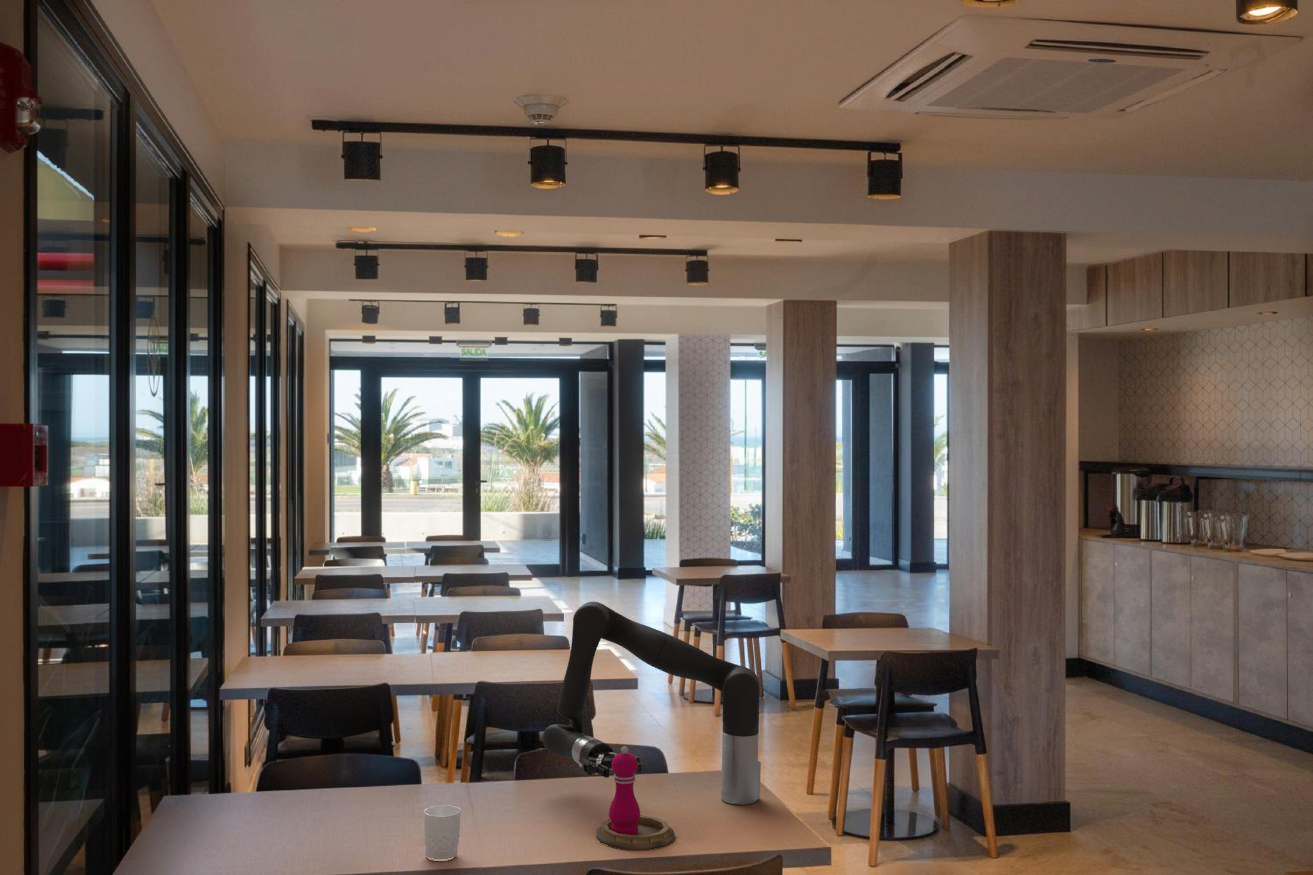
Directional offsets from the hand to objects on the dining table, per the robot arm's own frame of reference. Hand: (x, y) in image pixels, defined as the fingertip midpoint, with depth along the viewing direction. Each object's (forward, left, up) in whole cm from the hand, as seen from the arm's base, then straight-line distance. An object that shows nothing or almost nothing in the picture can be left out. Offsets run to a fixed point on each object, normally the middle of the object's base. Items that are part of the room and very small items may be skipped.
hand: (624, 771), depth 276 cm
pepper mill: (+4, +5, -13) cm, 14 cm away
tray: (+1, +6, -13) cm, 15 cm away
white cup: (+43, -9, -14) cm, 46 cm away
